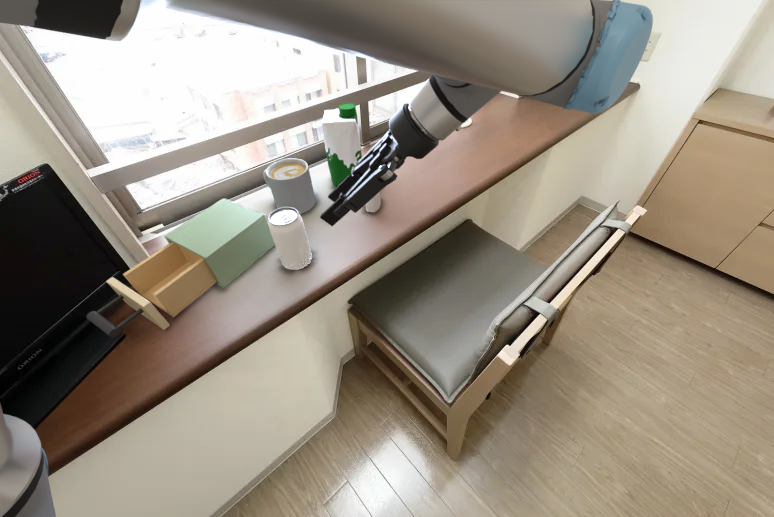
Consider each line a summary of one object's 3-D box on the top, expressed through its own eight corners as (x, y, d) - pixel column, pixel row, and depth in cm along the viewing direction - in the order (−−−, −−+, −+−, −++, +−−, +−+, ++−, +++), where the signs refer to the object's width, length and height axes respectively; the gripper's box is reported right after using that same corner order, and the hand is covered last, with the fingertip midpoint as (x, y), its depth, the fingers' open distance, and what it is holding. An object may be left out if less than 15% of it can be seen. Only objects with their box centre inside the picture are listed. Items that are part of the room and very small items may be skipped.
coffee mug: (323, 201, 88) (316, 166, 80) (293, 220, 82) (283, 184, 75) (291, 183, 94) (281, 150, 87) (261, 200, 89) (248, 166, 82)
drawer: (132, 356, 56) (107, 333, 52) (96, 327, 61) (70, 304, 56) (225, 280, 68) (211, 256, 63) (189, 260, 72) (173, 236, 67)
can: (301, 245, 76) (288, 201, 67) (318, 259, 72) (307, 215, 64) (276, 260, 73) (259, 216, 64) (293, 276, 69) (277, 231, 61)
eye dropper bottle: (359, 207, 85) (354, 164, 76) (375, 198, 88) (372, 155, 79) (371, 215, 83) (367, 171, 74) (387, 205, 85) (385, 161, 77)
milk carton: (363, 188, 91) (356, 113, 77) (330, 189, 91) (316, 114, 77) (364, 171, 97) (357, 98, 83) (332, 172, 97) (320, 100, 83)
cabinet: (223, 288, 67) (205, 258, 61) (183, 266, 72) (163, 236, 66) (275, 244, 76) (264, 214, 70) (237, 227, 81) (223, 197, 75)
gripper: (442, 172, 44) (336, 256, 57) (441, 114, 57) (354, 194, 70) (401, 132, 41) (298, 231, 54) (409, 80, 54) (325, 170, 67)
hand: (330, 210), depth 62 cm, fingers open, 5 cm apart
